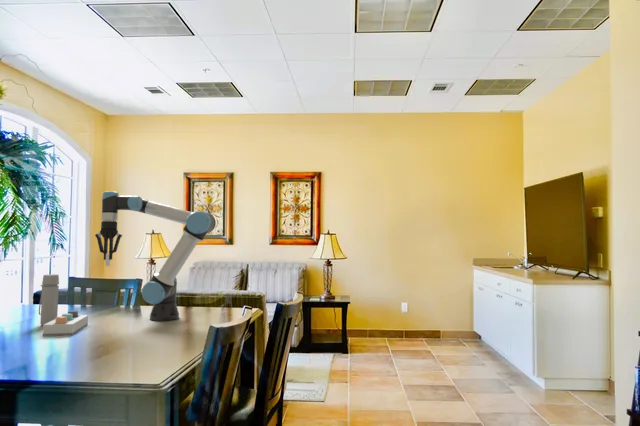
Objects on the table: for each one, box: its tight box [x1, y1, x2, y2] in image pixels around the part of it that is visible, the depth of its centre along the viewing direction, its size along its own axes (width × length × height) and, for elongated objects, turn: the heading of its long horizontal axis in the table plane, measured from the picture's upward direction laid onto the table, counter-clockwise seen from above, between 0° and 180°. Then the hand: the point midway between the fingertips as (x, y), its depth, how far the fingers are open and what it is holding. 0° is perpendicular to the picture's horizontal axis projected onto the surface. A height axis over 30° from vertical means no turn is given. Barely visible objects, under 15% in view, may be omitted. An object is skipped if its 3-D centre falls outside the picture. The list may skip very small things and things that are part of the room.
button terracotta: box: [55, 315, 67, 324], centre depth 197 cm, size 4×4×5 cm
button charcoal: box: [67, 310, 79, 318], centre depth 212 cm, size 4×4×5 cm
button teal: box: [61, 313, 73, 321], centre depth 204 cm, size 4×4×5 cm
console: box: [42, 314, 89, 337], centre depth 204 cm, size 12×22×5 cm, turn 12°
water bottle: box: [38, 273, 60, 327], centre depth 216 cm, size 9×8×25 cm
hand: (107, 266), depth 224 cm, fingers closed
